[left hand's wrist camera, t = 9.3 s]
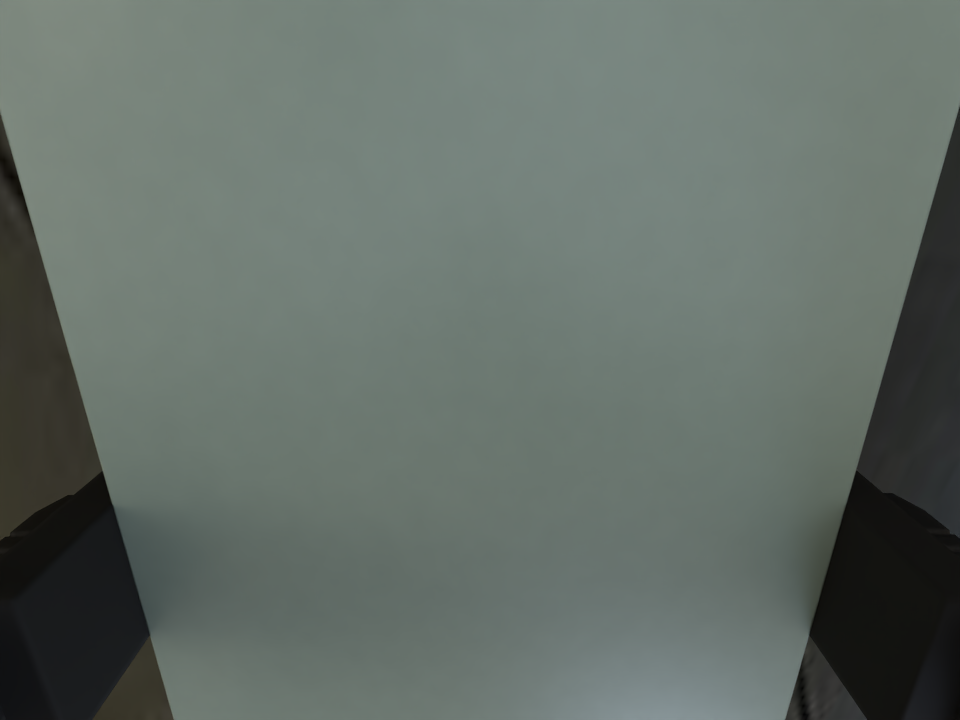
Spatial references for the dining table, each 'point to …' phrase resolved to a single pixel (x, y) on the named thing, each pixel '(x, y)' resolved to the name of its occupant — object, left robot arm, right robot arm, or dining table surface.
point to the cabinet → (479, 331)
